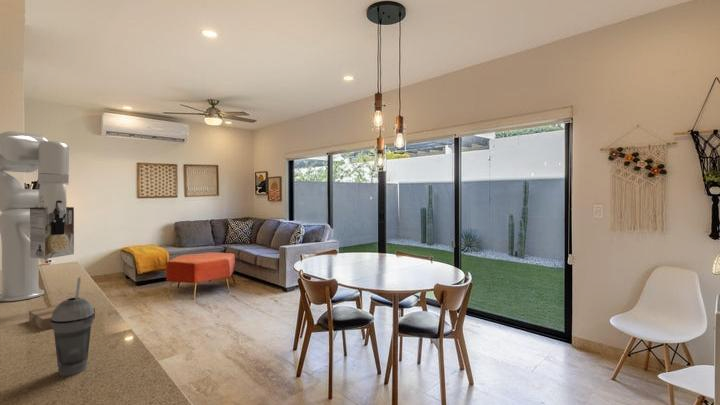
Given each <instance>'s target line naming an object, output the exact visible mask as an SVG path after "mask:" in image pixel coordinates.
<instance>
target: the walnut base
mask: <svg viewBox="0 0 720 405" xmlns="http://www.w3.org/2000/svg"><path fill="white" fill-rule="evenodd" d="M57 306H58V305H54V306H48V307H44V308H39V309H34V310H32V309H31V310H29V311H28V322H29V323H31V324H33V325H34V326H36V327H37V328H38V329H40V330H42V331H46V330H50V329H53V328H52V322H51V319H52V314H53V312H54V310H55V308H56V307H57ZM93 310H94V313H95V314H94V317H93V319H95V318H96V308H95V307H93Z"/></svg>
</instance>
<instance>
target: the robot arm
mask: <svg viewBox="0 0 720 405" xmlns="http://www.w3.org/2000/svg"><path fill="white" fill-rule="evenodd" d="M69 165H70V147H69V145H68V143H65V142H60V141H54V140H53V141H52V140H48V139H47V138H46V137H45V136H43V135H42V134H34V133H27V132H22V131H21V132H19V131H9V130H8V131H7V130H6V131H3V132H1V133H0V212H1V213H0V240H1V242H0V243H1V293H0V302H16V301H17V302H18V301H22V300H23V301H24V300H28V299H33V298H34V299H35V298H37V297H41V296H42V295H44V294H45V290H44V289H41V288H39V275H40V274H39V272H40V271H39V269H40V268H39V262H40V261H39V259H40V258H30V208H35V207H42V208H47V214H48V215H49V214H50V213H52V221H53V222H51V235H63V234H64V222H65V219H64V217H65V215H64V214H65V213H66V207H67V187H66V185H69V178H70V177H69V176H70V175H69V170H70V168H69V167H70V166H69ZM36 171H37V184H38V185H39V189H31V188H23V187H22V185H21V183H20V181H19V180H18V179H17V178H16V177H14V176H13V175H11V174H9V172H10V173H11V172H12V173H13V172H14V173H34V172H36ZM55 208H57V210H58V213H54V209H55ZM55 216H56V218H55Z"/></svg>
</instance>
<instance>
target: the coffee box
mask: <svg viewBox="0 0 720 405" xmlns="http://www.w3.org/2000/svg"><path fill="white" fill-rule="evenodd" d="M54 213H58V210H57V208H55V209H54ZM64 215H65V217H64V219H65V222H64V234H63V235H51V222H53V221H52V213H50V214H49V215H48V214H47V208H42V207H35V208H30V236H29V237H30V258H39V259H42V260H48V259H54V258H59V257H60V258H61V257H65V256H70V255H74V254H75V253H74V252H75V208H74V206H73V207H72V206H66V213H65V214H64ZM55 218H56V216H55Z"/></svg>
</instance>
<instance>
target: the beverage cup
mask: <svg viewBox="0 0 720 405" xmlns="http://www.w3.org/2000/svg"><path fill="white" fill-rule="evenodd" d="M81 280H82V277H78V278H77V283H76V291H75V297H71V298H70V297H69V298H67V299H65V300H63V301H61V302H60V303H59V304H57V305H56V306H57V307H56V308H55V310H54V312H53V314H52V319H51V322H52V328H51V329H52V331H53V335H54V336H53V337H54V345H55V353H56V355H55V356H56V363H57V368H58V375H59V376H61V377H68V376H73V375H74V376H75V375H78V374H80V373H82V372H84V371H85V370H86V369H87V364H88V357H89V350H90V349H89V348H90V339H91V331H92V324H93V322H94V318H93V317H94V314H95V315H96V312H95V313H94V310H93V308H94V306H93V304H91V302H90V301H88V300H87V299H85V298H83V297H79V295H80V288H81V283H82V282H81Z"/></svg>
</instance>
